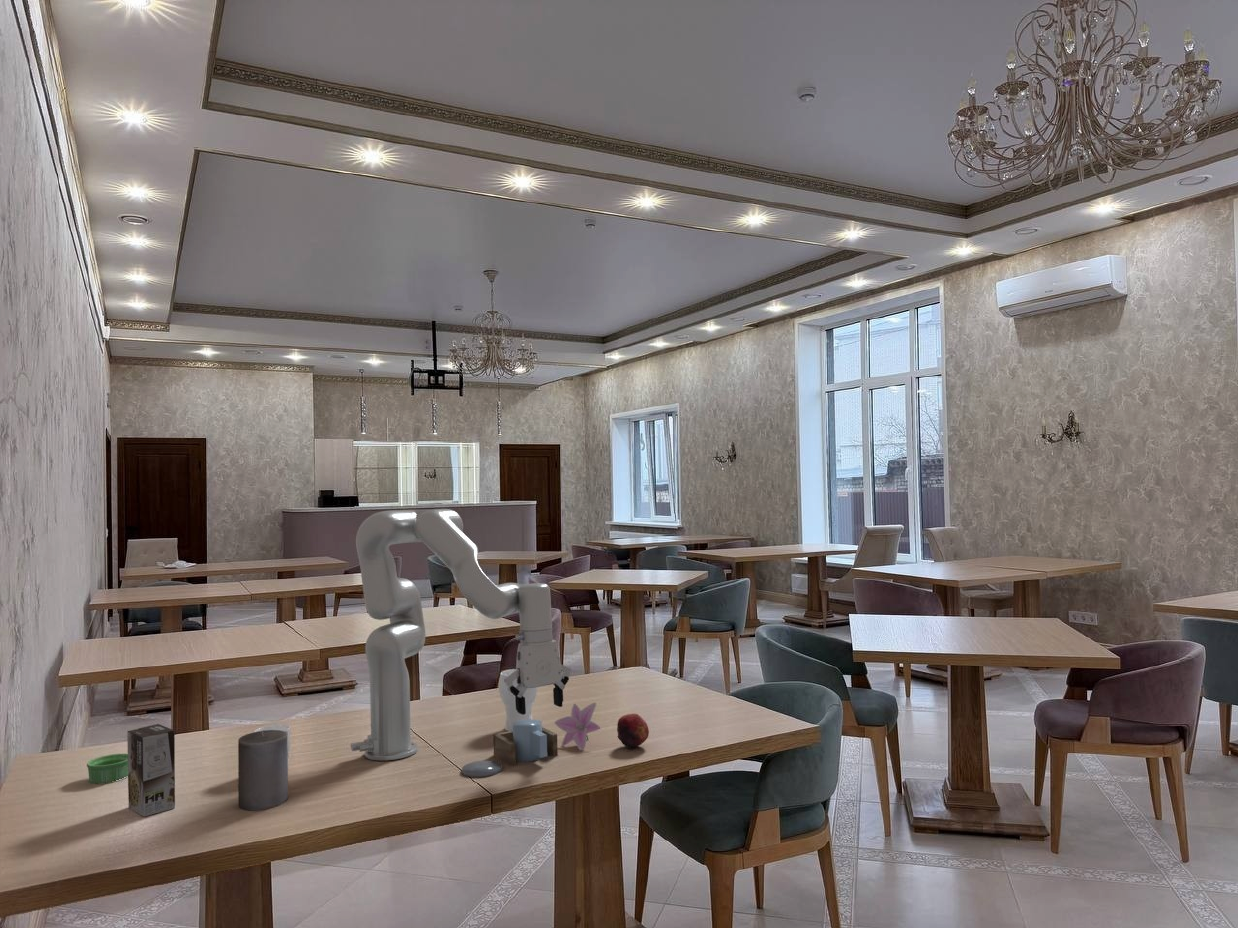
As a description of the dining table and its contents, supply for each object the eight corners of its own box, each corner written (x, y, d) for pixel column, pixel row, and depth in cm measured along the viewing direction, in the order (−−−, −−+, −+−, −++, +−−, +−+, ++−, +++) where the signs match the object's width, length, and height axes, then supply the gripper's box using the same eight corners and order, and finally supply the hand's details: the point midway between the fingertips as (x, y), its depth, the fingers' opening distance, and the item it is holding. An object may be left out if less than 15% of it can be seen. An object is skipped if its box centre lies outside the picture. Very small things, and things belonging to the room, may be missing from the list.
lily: (553, 743, 212) (544, 715, 208) (590, 718, 218) (582, 691, 213) (577, 768, 203) (569, 740, 199) (616, 742, 208) (608, 714, 204)
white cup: (251, 780, 187) (251, 735, 188) (257, 769, 195) (256, 726, 195) (288, 776, 190) (288, 732, 190) (292, 765, 197) (292, 723, 197)
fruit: (654, 744, 205) (653, 712, 205) (639, 753, 198) (638, 720, 198) (627, 740, 209) (626, 709, 209) (611, 749, 202) (610, 716, 202)
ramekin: (92, 775, 194) (92, 756, 195) (135, 769, 198) (135, 751, 198) (82, 787, 186) (82, 768, 186) (128, 781, 189) (127, 762, 189)
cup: (536, 733, 218) (535, 675, 218) (496, 734, 218) (495, 677, 218) (541, 722, 228) (539, 667, 229) (503, 722, 229) (501, 668, 229)
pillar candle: (231, 802, 174) (230, 730, 174) (277, 789, 181) (276, 720, 181) (249, 814, 167) (248, 740, 167) (296, 801, 174) (295, 729, 174)
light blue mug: (530, 768, 190) (529, 733, 190) (508, 755, 200) (507, 722, 200) (557, 762, 193) (556, 728, 194) (534, 750, 203) (533, 717, 204)
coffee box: (176, 808, 171) (175, 729, 172) (142, 817, 167) (142, 737, 167) (160, 798, 177) (159, 722, 178) (127, 807, 173) (126, 729, 173)
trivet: (471, 779, 183) (471, 776, 183) (456, 769, 191) (456, 765, 191) (508, 771, 188) (508, 767, 188) (492, 761, 196) (492, 757, 196)
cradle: (510, 765, 192) (510, 743, 192) (493, 755, 200) (493, 734, 201) (557, 755, 199) (557, 734, 199) (539, 745, 207) (538, 725, 207)
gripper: (509, 643, 187) (513, 719, 186) (576, 633, 196) (579, 705, 195) (496, 639, 193) (499, 713, 192) (561, 629, 202) (564, 700, 202)
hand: (540, 709), depth 194 cm, fingers open, 9 cm apart
